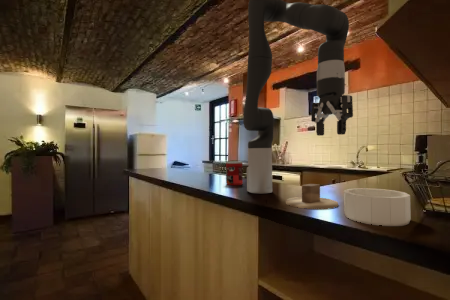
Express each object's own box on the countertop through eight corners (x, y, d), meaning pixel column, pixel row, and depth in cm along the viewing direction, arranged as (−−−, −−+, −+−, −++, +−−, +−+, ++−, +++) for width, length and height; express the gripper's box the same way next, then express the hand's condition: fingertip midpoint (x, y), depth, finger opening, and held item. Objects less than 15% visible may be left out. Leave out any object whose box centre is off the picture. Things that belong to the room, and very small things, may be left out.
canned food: (224, 183, 123) (223, 161, 123) (239, 183, 126) (238, 161, 126) (229, 185, 116) (228, 162, 116) (245, 184, 118) (244, 161, 118)
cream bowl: (334, 217, 60) (334, 192, 60) (359, 208, 68) (358, 186, 68) (397, 230, 50) (396, 200, 50) (417, 218, 58) (416, 192, 58)
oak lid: (275, 204, 77) (275, 184, 77) (304, 198, 86) (303, 180, 86) (320, 213, 65) (319, 190, 65) (347, 205, 74) (347, 185, 74)
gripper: (304, 84, 78) (304, 135, 78) (338, 71, 64) (337, 133, 65) (324, 85, 80) (324, 136, 80) (360, 73, 67) (360, 134, 67)
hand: (330, 135), depth 73 cm, fingers open, 8 cm apart
